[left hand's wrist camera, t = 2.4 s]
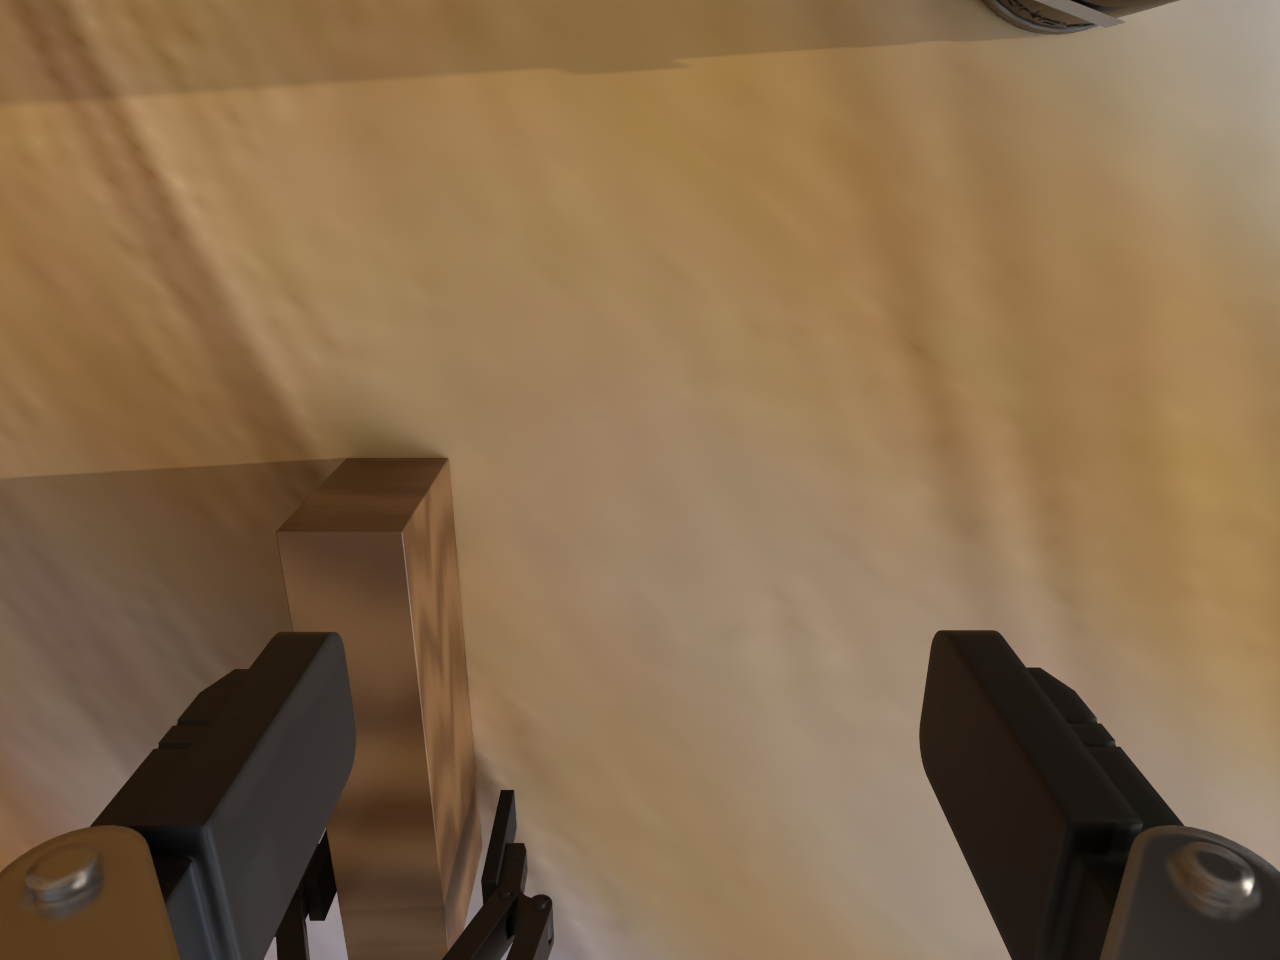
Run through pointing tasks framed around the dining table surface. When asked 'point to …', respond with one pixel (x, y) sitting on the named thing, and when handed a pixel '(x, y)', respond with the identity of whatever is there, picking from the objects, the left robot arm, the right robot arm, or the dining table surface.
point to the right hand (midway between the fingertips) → (431, 808)
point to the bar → (394, 699)
